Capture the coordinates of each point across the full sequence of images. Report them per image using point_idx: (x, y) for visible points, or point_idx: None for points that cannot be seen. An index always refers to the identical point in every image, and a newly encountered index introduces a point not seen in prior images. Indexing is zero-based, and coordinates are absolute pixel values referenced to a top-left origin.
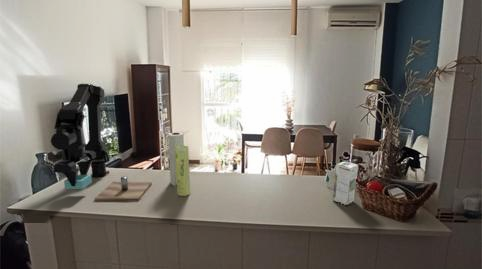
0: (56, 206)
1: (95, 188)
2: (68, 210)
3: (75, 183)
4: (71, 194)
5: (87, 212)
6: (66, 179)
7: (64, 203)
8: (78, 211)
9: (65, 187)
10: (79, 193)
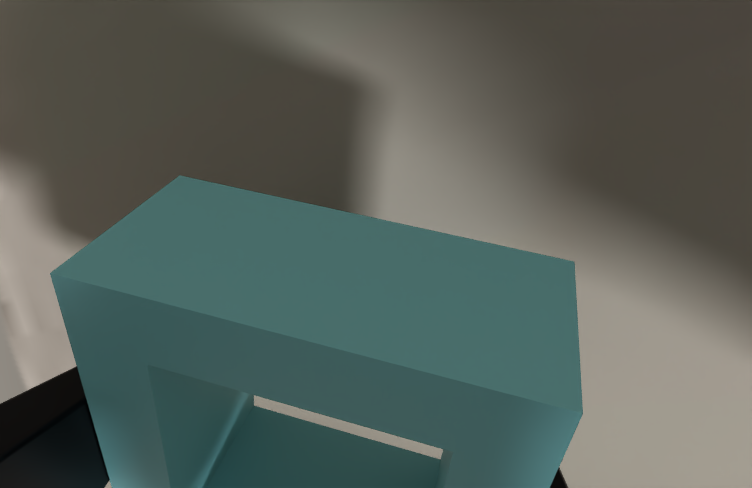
0: (39, 69)
1: (629, 395)
2: (5, 239)
3: None
4: (439, 124)
5: (27, 383)
6: (153, 302)
7: (132, 138)
8: (19, 322)
9: (165, 199)
10: (463, 232)
